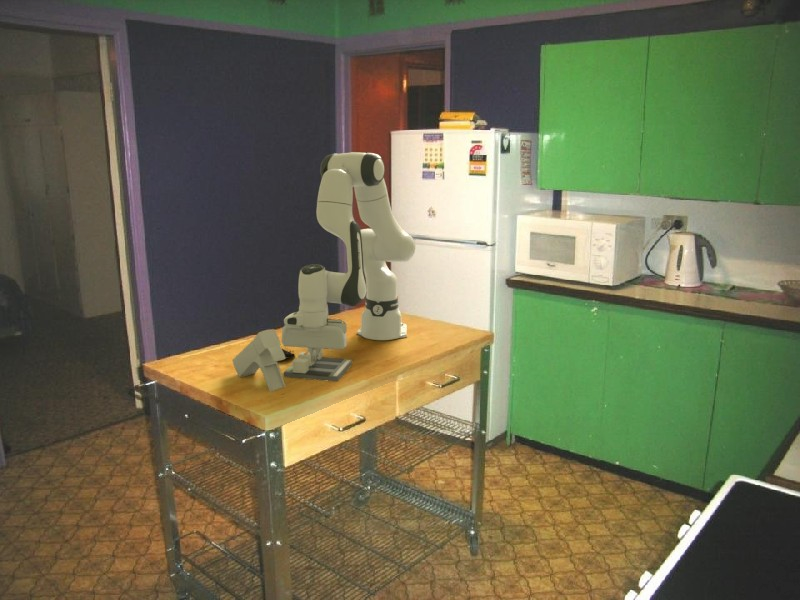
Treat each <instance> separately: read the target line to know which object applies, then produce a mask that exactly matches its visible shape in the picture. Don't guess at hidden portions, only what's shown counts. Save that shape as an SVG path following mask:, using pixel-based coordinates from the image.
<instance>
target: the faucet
mask: <svg viewBox="0 0 800 600" xmlns="http://www.w3.org/2000/svg"><path fill="white" fill-rule="evenodd" d="M281 343H282V342H281V341H280V338H279V335H278V333H277V331H276V330H275V329H274V328H272V329H271V328H270V329H265V330H262V331H259V332H258V333H257V334H256V336H254V338H253V340H251V342H249V344H247V346H246V347H244V348H243V349H242V350H241V351H240V352H239V353H238V354H236V356H235V357H234V358H233V359H232V364H233V366H234V370H235V372H236V373H237V375H238V377H239V378H240V377H247V376H250V375H253V374H255V373H257V372H258V370H259V369H260V372H261V373H262V376H263V378H264V381H265V382H266V385H267V388H268V391H269V392H274V391H276V390H280V389H283V388H285V387H286V384H285V380H284V376H283V373H282V371H281V369H280V365H279V363H278V362H280V361H283V360H285V359H286V358H285V355H284V352H283V350H282V349H283V348H282V346H281V345H282V344H281Z"/></svg>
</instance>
